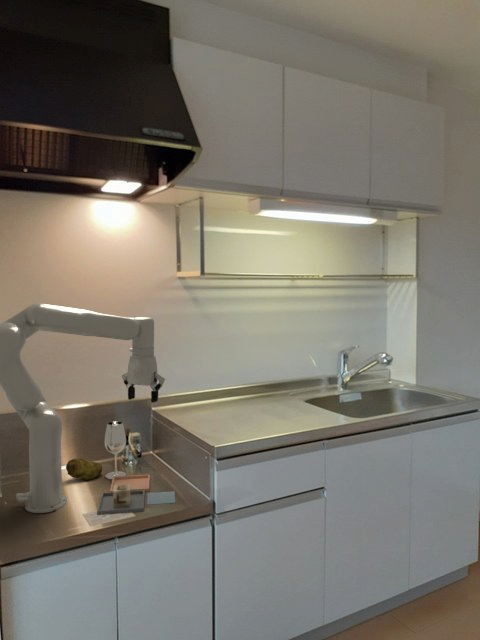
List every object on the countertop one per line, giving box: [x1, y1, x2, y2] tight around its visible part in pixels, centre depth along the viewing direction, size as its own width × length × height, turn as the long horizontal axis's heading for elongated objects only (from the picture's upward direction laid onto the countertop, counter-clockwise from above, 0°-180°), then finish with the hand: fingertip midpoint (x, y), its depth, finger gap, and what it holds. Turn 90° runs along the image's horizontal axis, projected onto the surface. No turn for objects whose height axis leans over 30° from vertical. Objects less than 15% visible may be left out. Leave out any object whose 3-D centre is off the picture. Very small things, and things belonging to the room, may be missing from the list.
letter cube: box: [113, 485, 130, 507], centre depth 161 cm, size 5×5×5 cm
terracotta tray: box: [109, 474, 151, 493], centre depth 176 cm, size 13×13×2 cm
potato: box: [65, 457, 103, 481], centre depth 183 cm, size 8×13×8 cm, turn 111°
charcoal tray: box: [96, 490, 146, 515], centre depth 161 cm, size 14×14×2 cm
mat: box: [146, 490, 176, 506], centre depth 165 cm, size 9×9×1 cm
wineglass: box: [104, 420, 127, 481], centre depth 185 cm, size 8×8×20 cm
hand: (142, 400), depth 176 cm, fingers open, 9 cm apart
